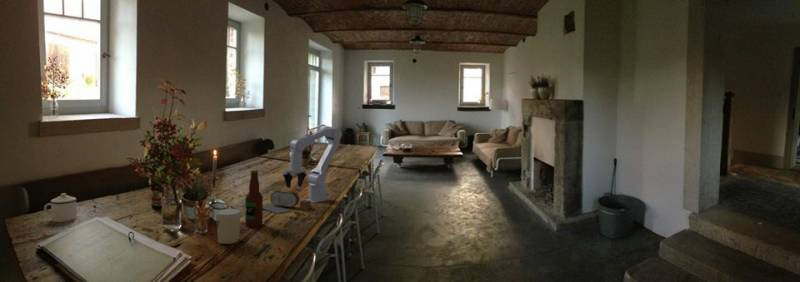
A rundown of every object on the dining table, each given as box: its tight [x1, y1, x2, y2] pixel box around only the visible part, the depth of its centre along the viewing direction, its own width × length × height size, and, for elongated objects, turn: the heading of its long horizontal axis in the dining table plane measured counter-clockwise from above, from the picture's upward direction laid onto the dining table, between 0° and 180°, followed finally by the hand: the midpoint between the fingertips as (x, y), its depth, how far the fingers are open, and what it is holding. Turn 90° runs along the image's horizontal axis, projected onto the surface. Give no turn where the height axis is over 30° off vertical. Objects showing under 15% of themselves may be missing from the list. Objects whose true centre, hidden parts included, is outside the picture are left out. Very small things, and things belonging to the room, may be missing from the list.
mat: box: [263, 203, 292, 215], centre depth 219 cm, size 8×18×1 cm, turn 50°
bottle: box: [244, 169, 264, 228], centre depth 190 cm, size 7×7×25 cm
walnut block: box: [299, 199, 312, 211], centre depth 223 cm, size 4×4×4 cm
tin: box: [270, 189, 300, 208], centre depth 223 cm, size 15×3×8 cm, turn 84°
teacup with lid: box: [43, 192, 78, 223], centre depth 186 cm, size 12×9×12 cm
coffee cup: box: [215, 208, 242, 245], centre depth 170 cm, size 9×9×12 cm
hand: (294, 187), depth 227 cm, fingers open, 7 cm apart
